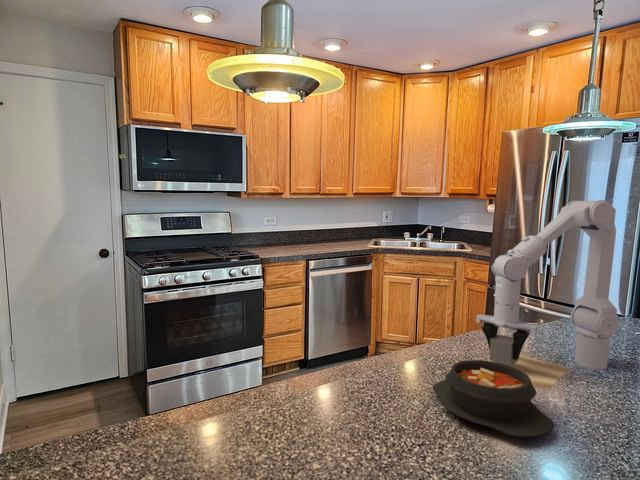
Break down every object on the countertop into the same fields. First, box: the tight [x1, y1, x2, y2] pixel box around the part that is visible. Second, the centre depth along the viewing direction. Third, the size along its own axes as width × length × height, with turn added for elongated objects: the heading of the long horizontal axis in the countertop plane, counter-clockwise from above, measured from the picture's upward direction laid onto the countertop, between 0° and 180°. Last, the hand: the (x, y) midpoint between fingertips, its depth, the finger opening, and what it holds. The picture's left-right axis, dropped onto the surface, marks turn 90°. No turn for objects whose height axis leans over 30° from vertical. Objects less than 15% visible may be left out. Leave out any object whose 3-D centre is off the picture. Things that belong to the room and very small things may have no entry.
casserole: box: [432, 359, 555, 438], centre depth 85 cm, size 25×19×8 cm
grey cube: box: [488, 334, 518, 366], centre depth 106 cm, size 5×5×6 cm
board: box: [487, 354, 571, 390], centre depth 107 cm, size 18×17×1 cm
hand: (504, 355), depth 106 cm, fingers closed on grey cube, 5 cm apart
